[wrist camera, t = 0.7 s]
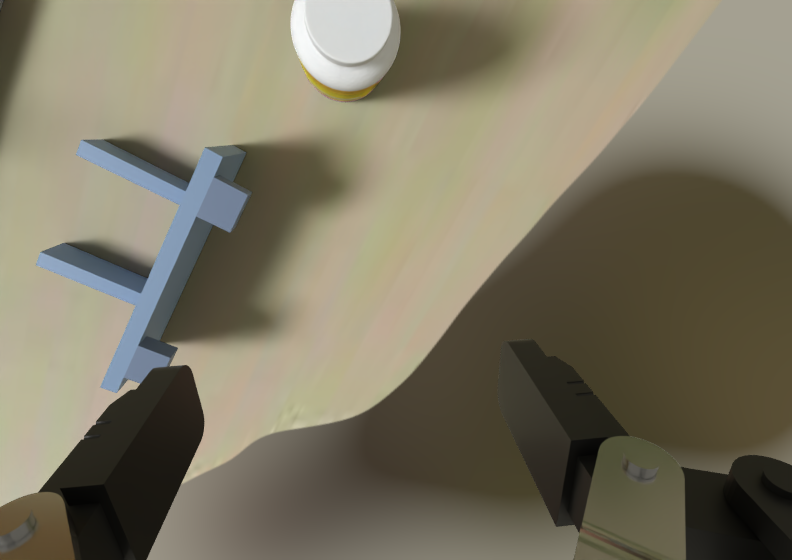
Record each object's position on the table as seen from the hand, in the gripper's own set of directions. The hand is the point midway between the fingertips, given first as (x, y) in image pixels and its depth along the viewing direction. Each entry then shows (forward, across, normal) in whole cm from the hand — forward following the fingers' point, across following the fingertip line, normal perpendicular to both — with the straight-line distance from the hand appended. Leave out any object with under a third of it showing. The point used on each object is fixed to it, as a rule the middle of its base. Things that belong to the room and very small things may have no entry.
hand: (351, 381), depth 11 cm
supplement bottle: (+29, 0, -10) cm, 31 cm away
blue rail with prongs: (+27, +17, +3) cm, 33 cm away
